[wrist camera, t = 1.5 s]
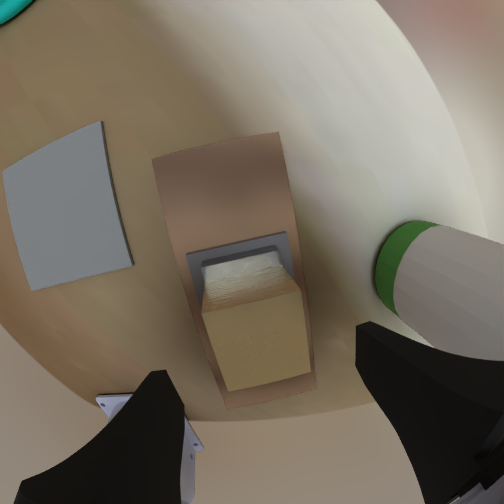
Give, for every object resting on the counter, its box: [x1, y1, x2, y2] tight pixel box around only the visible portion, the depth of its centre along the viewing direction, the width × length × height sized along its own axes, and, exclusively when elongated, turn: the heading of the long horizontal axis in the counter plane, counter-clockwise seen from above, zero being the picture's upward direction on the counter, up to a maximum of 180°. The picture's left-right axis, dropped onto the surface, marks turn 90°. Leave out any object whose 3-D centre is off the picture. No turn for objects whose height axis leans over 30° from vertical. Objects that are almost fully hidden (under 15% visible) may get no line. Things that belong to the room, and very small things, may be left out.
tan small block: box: [201, 245, 311, 392], centre depth 13 cm, size 6×4×5 cm, turn 11°
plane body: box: [152, 132, 316, 409], centre depth 17 cm, size 18×7×3 cm, turn 11°
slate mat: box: [2, 121, 134, 291], centre depth 15 cm, size 10×10×1 cm
